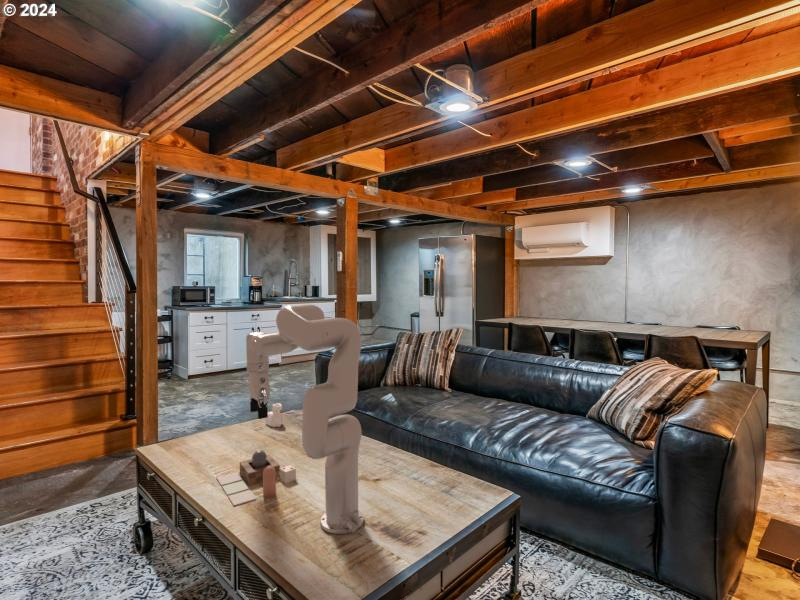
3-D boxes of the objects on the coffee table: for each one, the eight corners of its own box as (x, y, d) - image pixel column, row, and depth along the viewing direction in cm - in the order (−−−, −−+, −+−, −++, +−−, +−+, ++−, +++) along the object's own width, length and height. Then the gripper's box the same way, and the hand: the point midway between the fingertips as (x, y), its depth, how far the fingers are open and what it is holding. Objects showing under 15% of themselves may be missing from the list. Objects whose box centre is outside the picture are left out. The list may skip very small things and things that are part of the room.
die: (295, 479, 154) (295, 468, 154) (285, 483, 151) (285, 471, 151) (289, 475, 157) (289, 464, 157) (280, 479, 154) (279, 468, 154)
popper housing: (279, 476, 157) (279, 465, 156) (248, 484, 150) (248, 473, 150) (269, 465, 166) (269, 454, 165) (239, 472, 159) (239, 462, 159)
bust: (284, 431, 207) (295, 409, 212) (274, 425, 201) (285, 403, 207) (267, 426, 213) (278, 405, 218) (257, 421, 208) (268, 399, 213)
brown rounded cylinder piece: (277, 495, 143) (277, 467, 142) (265, 499, 141) (265, 470, 140) (273, 490, 146) (272, 463, 146) (261, 494, 144) (261, 466, 143)
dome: (268, 467, 157) (268, 451, 157) (254, 471, 154) (254, 454, 154) (264, 462, 161) (263, 447, 161) (250, 466, 158) (250, 450, 158)
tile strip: (256, 499, 140) (256, 498, 140) (234, 506, 136) (234, 505, 136) (236, 473, 159) (236, 472, 159) (216, 478, 155) (216, 477, 155)
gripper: (276, 370, 151) (277, 419, 152) (260, 361, 165) (261, 406, 166) (254, 372, 146) (255, 423, 147) (240, 364, 160) (241, 410, 162)
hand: (258, 414), depth 157 cm, fingers open, 8 cm apart
